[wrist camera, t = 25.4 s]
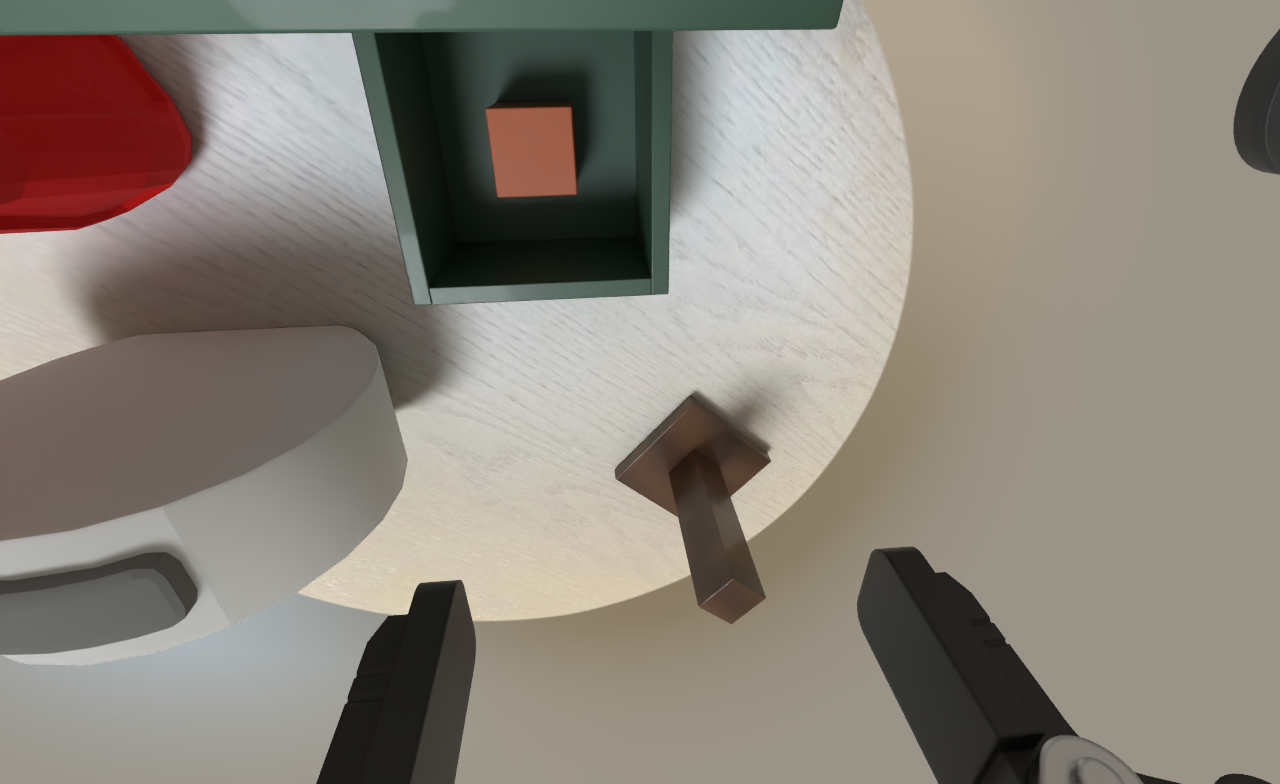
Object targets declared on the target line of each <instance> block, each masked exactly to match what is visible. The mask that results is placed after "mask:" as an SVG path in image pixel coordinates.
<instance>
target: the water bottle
mask: <svg viewBox="0 0 1280 784" xmlns="http://www.w3.org/2000/svg"><path fill="white" fill-rule="evenodd" d="M190 161H191V135H190V133H189V131H188V129H187V127H186V125H185V123H184V121H183V120H182V118H181V116H180V114H179V112H178V110H177V108H176V106H175V104H174V102H173V100H172V99H171V97H170V96H169V95H168V94H167V93H166V92H165V91H164V90H163V89H162V87H161V86H160V85H159V84H158V83H157V82H156V81H155V80H154V79H153V78H152V77H151V76H150V75H149V73H148V72H147V71H146V70H145V68H144V67H143V66H142V64H141V63H140V62H139V60H138V59H137V57H136V56H135V55H134V53H133V52H132V51H131V49H130V48H129V46H128V45H127V44H126V43H124V42H123V41H122V40H121V39H120V38H119V37H117V36H116V35H0V234H6V233H25V232H43V231H62V230H77V229H80V228H84V227H87V226H90V225H93V224H96V223H99V222H102V221H105V220H108V219H110V218H113V217H115V216H118V215H121V214H123V213H126V212H128V211H130V210H132V209H134V208H135V207H137V206H139V205H140V204H142V203H144V202H145V201H147V200H149V199H151V198H152V197H154V196H156V195H157V194H159V193H161V192H162V191H164V190H166V189H167V188H169V187H171V186H172V185H173V184H174V182H175V181H176V180H177V179H178V177H179V176H180V175H181V173H182V172H183V171H184V169H185V168H186V167H187V165H188V164H189V163H190Z"/></svg>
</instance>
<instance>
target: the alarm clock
mask: <svg viewBox="0 0 1280 784" xmlns="http://www.w3.org/2000/svg"><path fill="white" fill-rule="evenodd" d="M407 461H408V458H407V455H406V451H405V448H404V444H403V440H402V437H401V433H400V429H399V426H398V422H397V419H396V415H395V411H394V408H393V404H392V400H391V397H390V393H389V390H388V386H387V382H386V379H385V375H384V371H383V368H382V364H381V361H380V357H379V354H378V351H377V347H376V345H375V344H374V343H372V342H371V341H370V340H369V339H368V338H366V337H365V336H364V335H363V334H361V333H360V332H359V331H358V330H355V329H352V328H350V327H347V326H342V325H333V326H311V327H289V328H266V329H244V330H222V331H200V332H178V333H156V334H142V335H138V336H134V337H129V338H125V339H121V340H117V341H113V342H110V343H106V344H103V345H100V346H97V347H93V348H90V349H87V350H84V351H80V352H77V353H74V354H71V355H67V356H64V357H61V358H58V359H55V360H52V361H50V362H47V363H45V364H42V365H39V366H37V367H34V368H32V369H29V370H27V371H24V372H21V373H19V374H16V375H14V376H11V377H9V378H6V379H3V380H1V381H0V655H2V656H4V657H7V658H9V659H12V660H15V661H17V662H20V663H22V664H53V665H91V664H97V663H102V662H108V661H113V660H118V659H123V658H129V657H135V656H139V655H145V654H151V653H156V652H160V651H163V650H166V649H169V648H171V647H174V646H177V645H180V644H183V643H186V642H189V641H191V640H194V639H197V638H200V637H203V636H205V635H208V634H211V633H214V632H217V631H220V630H222V629H225V628H228V627H231V626H233V625H235V624H237V623H239V622H241V621H243V620H245V619H247V618H249V617H251V616H253V615H254V614H256V613H258V612H260V611H262V610H264V609H266V608H268V607H270V606H272V605H274V604H276V603H278V602H279V601H281V600H283V599H285V598H287V597H289V596H291V595H293V594H295V593H297V592H298V591H300V590H301V589H302V588H304V587H305V586H307V585H308V584H309V583H311V582H312V581H314V580H315V579H316V578H318V577H319V576H320V575H322V574H323V573H325V572H326V571H327V570H329V569H330V568H332V567H333V566H334V565H336V564H337V563H339V562H340V561H341V560H343V559H344V558H345V557H347V556H348V555H349V554H350V553H351V552H352V551H353V550H354V549H355V548H356V547H357V546H358V545H359V544H360V543H361V542H362V541H363V540H364V539H365V538H366V537H367V536H368V535H369V534H370V533H371V532H372V531H373V530H374V529H375V528H376V526H377V525H378V524H379V523H380V522H381V521H382V520H383V519H384V517H385V515H386V514H387V512H388V510H389V509H390V507H391V505H392V504H393V502H394V500H395V499H396V497H397V495H398V494H399V492H400V490H401V489H402V486H403V481H404V476H405V471H406V466H407Z"/></svg>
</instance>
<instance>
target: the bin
mask: <svg viewBox="0 0 1280 784" xmlns="http://www.w3.org/2000/svg"><path fill="white" fill-rule="evenodd" d="M352 37H353V41H354V46H355V50H356V54H357V59H358V63H359V68H360V72H361V76H362V81H363V85H364V89H365V94H366V98H367V102H368V107H369V111H370V115H371V120H372V124H373V128H374V133H375V137H376V141H377V146H378V150H379V154H380V159H381V163H382V167H383V172H384V176H385V180H386V185H387V189H388V193H389V198H390V202H391V206H392V211H393V215H394V219H395V224H396V228H397V232H398V237H399V241H400V245H401V250H402V254H403V258H404V263H405V267H406V271H407V276H408V280H409V284H410V289H411V293H412V297H413V302H414V305H432V304H433V305H442V304H464V303H486V302H508V301H530V300H552V299H574V298H595V297H617V296H639V295H651V294H652V295H657V294H668V289H669V231H670V173H671V115H672V57H673V31H541V32H402V33H352ZM540 101H572V109H573V124H574V139H575V154H576V169H577V195H557V196H527V197H497V193H496V185H495V178H494V171H493V164H492V156H491V149H490V142H489V135H488V128H487V120H486V113H485V108H487V107H489V106H491V105H493V104H495V103H496V102H540Z"/></svg>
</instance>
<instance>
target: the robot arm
mask: <svg viewBox="0 0 1280 784" xmlns="http://www.w3.org/2000/svg"><path fill="white" fill-rule="evenodd" d="M857 611H858V618H859V622H860V625H861V628H862V631H863V633H864V635H865V637H866V639H867V641H868V643H869V645H870V647H871V649H872V651H873V653H874V655H875V657H876V659H877V661H878V663H879V665H880V667H881V669H882V671H883V673H884V675H885V677H886V679H887V681H888V683H889V685H890V687H891V689H892V691H893V693H894V695H895V697H896V699H897V701H898V703H899V705H900V707H901V709H902V711H903V713H904V715H905V717H906V719H907V721H908V723H909V725H910V727H911V729H912V731H913V733H914V735H915V738H916V740H917V742H918V744H919V746H920V748H921V750H922V751H923V754H924V756H925V758H926V760H927V762H928V764H929V765H930V767H931V770H932V772H933V774H934V776H935V777H936V780H937V782H938V784H1180V783H1176V782H1171V781H1167V780H1163V779H1159V778H1154V777H1150V776H1146V775H1143V774H1139V773H1136V772H1134V771H1133V770H1132V769H1131V768H1130V767H1129V766H1128V765H1127V764H1126V763H1124V762H1123V761H1122V760H1121V759H1120V758H1118V757H1117V756H1116V755H1114V754H1113V753H1112V752H1110V751H1108V750H1107V749H1106V748H1104V747H1102V746H1100V745H1098V744H1096V743H1094V742H1092V741H1090V740H1087V739H1084V738H1081V737H1079V736H1078V735H1077V734H1076V733H1075V732H1074V730H1073V729H1072V728H1071V727H1070V726H1069V724H1068V723H1067V722H1066V720H1065V719H1064V718H1063V716H1062V715H1061V714H1060V712H1059V711H1058V709H1057V708H1056V707H1055V705H1054V704H1053V703H1052V701H1051V700H1050V699H1049V697H1048V696H1047V695H1046V693H1045V692H1044V690H1043V689H1042V688H1041V686H1040V685H1039V684H1038V682H1037V681H1036V680H1035V679H1034V677H1033V676H1032V674H1031V673H1030V672H1029V670H1028V669H1027V668H1026V666H1025V665H1024V663H1023V662H1022V661H1021V659H1020V658H1019V657H1018V655H1017V654H1016V653H1015V651H1014V650H1013V648H1012V647H1011V646H1010V644H1006V642H1005V638H1004V636H1003V635H1002V634H1001V632H1000V631H999V630H998V628H997V627H996V625H995V624H994V623H991V622H990V618H989V616H988V615H987V613H986V612H985V610H984V609H983V608H982V606H981V605H980V604H979V602H978V601H977V600H976V598H975V597H974V596H973V594H972V593H971V592H970V591H968V590H967V589H966V588H965V587H964V586H962V585H961V584H960V583H959V582H957V581H956V580H955V579H954V578H952V577H951V576H950V575H949V574H947V573H946V572H941V573H935V572H934V571H933V569H932V568H931V566H930V565H929V563H928V562H927V560H926V559H925V558H924V556H923V555H922V553H921V552H920V551H919V550H918V549H916V548H914V547H898V548H886V549H876V550H874V551H872V553H871V555H870V558H869V562H868V565H867V569H866V572H865V575H864V579H863V583H862V586H861V589H860V593H859V596H858V601H857ZM475 653H476V638H475V630H474V625H473V621H472V617H471V613H470V609H469V605H468V601H467V596H466V592H465V588H464V585H463V582H462V581H461V580H453V581H440V582H427V583H420V584H419V585H418V586H417V588H416V590H415V593H414V596H413V600H412V603H411V606H410V609H409V613H408V614H407V615H394V616H388V617H387V618H386V620H385V621H384V622H383V623H382V625H381V626H380V627H379V629H378V630H377V631H376V632H375V633H374V635H373V636H372V637H371V639H370V640H369V641H368V642H367V645H366V648H365V650H364V653H363V656H362V659H361V661H360V664H359V667H358V670H357V677H356V678H355V679H354V681H353V684H352V686H351V689H350V692H349V695H348V702H347V704H345V706H344V708H343V711H342V714H341V717H340V720H339V722H338V725H337V728H336V731H335V733H334V736H333V739H332V742H331V744H330V748H329V750H328V753H327V756H326V759H325V761H324V764H323V767H322V769H321V772H320V775H319V778H318V781H317V784H454V781H455V776H456V769H457V764H458V759H459V752H460V746H461V741H462V735H463V729H464V723H465V717H466V712H467V705H468V700H469V693H470V688H471V682H472V677H473V671H474V665H475V655H476V654H475ZM1214 784H1271V783H1269V782H1266V781H1264V780H1262V779H1259V778H1256V777H1252V776H1248V775H1244V774H1228V775H1224V776H1222V777H1220V778H1219V779H1218V780H1217V781H1216V782H1215V783H1214Z"/></svg>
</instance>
